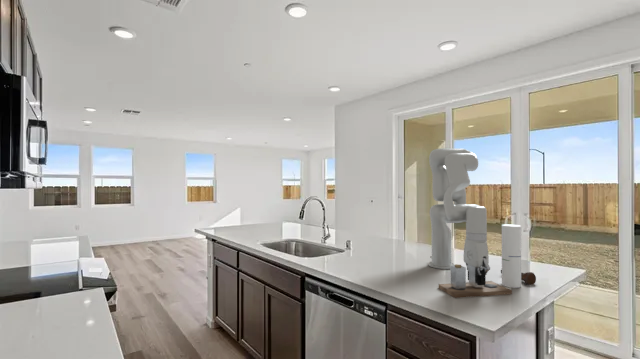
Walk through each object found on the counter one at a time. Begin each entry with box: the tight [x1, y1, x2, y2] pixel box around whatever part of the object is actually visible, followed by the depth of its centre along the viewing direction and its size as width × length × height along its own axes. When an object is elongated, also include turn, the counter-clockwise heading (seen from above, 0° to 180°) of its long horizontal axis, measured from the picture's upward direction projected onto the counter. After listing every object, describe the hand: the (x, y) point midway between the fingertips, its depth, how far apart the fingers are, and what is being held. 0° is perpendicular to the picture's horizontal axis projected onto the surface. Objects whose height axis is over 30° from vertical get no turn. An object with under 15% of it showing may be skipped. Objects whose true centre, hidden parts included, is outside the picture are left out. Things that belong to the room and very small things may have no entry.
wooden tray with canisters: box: [438, 263, 513, 299], centre depth 134 cm, size 12×24×11 cm, turn 100°
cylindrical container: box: [501, 223, 522, 289], centre depth 142 cm, size 7×7×25 cm
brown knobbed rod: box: [500, 269, 537, 286], centre depth 149 cm, size 6×5×15 cm
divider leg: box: [468, 265, 484, 288], centre depth 134 cm, size 4×4×9 cm
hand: (476, 282), depth 134 cm, fingers open, 5 cm apart
